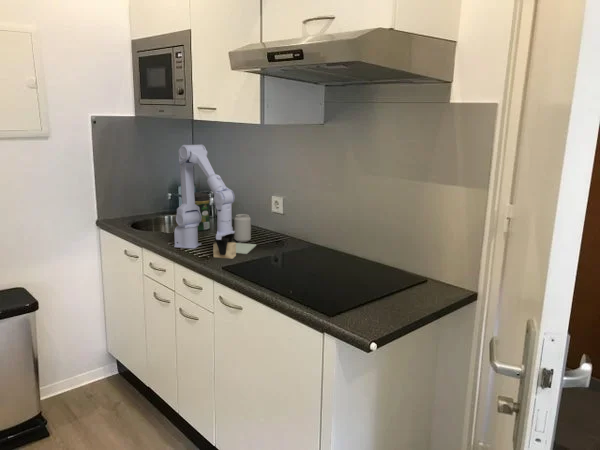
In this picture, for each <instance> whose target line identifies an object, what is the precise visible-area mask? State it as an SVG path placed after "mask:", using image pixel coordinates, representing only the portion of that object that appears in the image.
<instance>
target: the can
mask: <svg viewBox="0 0 600 450" xmlns="http://www.w3.org/2000/svg"><path fill="white" fill-rule="evenodd" d="M233 220H234V222H233V225H234V227H233V231H235V233H233V234H235V235H234V237H233V239H234V240H235V241H236V242H237V243H246V242H249V241H250V240H252V235H251V234H252V218H251V217H250V215H249V214H247V213H239V214H236V215H235V217H234V219H233Z"/></svg>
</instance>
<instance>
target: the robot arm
mask: <svg viewBox="0 0 600 450" xmlns="http://www.w3.org/2000/svg"><path fill="white" fill-rule="evenodd" d="M177 153H178V163H179V173H180V176H179V178H180V191H181V192H180V193H181V204H180V206H178V207H177V208H176V215H175V221H176V224H177V226H175V229H174V233H173V234H174V246H173V247H174V248H180V249H181V248H182V249H196V248H198V247H200V246H202V243H201V242H199V238H198V237H199V235H198V234H199V232H198V226H199V223H200V222H201V218H202V217H201V213H200V208H199V207H198V206H197V205H196V204H195V197H194V192H195V185H194V182H195V181H194V179H195V178H194V166H195V165H198V166H199V168H200V169H201V171H202V172H203V173H204V175H205V176H206V178H207V180H206V184H208V187H209V188H210V190H211V192H212V193H213V196H214V197H213V201H214V203H215V208H216V212H217V213H216V214H217V215H216V216H217V217H216V218H217V220H216V221H217V222H216V225H217V226H216V227H217V228H216V229H217V231H216V234H215V237H214V242H216V243H217V245H218V249H219V253H220V255H225V254H226V248H227V243H228V242H233V239H234V235H235V234H234V233H235V231H234V227H233V226H232V225H233V215H232V214H233V213H232V212H233V211H232V208H233V207H232V205H233V203H234V202H235V193H234V190H232V189H231V188H229V187H227V186H226V184H225V182H224V181H223V179H222V177H221V176H220V175H219V174H216V173H215V170H214V169H213V167H212V165H211V163H210V160H209V158H208V150H207V149H206V146H205V145H204V144H201V143H200V144H182V145H181V146H180V147H179V149H178V152H177ZM191 210H192V211H191Z"/></svg>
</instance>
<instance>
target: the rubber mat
mask: <svg viewBox="0 0 600 450" xmlns="http://www.w3.org/2000/svg"><path fill="white" fill-rule="evenodd" d="M235 243H236V254H243V255H247V254H248V253H250V252H251V251H252V250H253V249H254V248H255V247H256V246H257V244H255V243H245V242H235Z"/></svg>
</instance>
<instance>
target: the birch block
mask: <svg viewBox="0 0 600 450" xmlns="http://www.w3.org/2000/svg"><path fill="white" fill-rule="evenodd" d="M236 243H237V242H233V241H232V242H228V243H227V248H226V254H225V255H220V253H219V249H218V245H217V243H216V241H214V243H213V244H212V245H213V248H212V252H213V253H212V254H213V258H219V259H234V258H235V257H236V256H237V253H236Z"/></svg>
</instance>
